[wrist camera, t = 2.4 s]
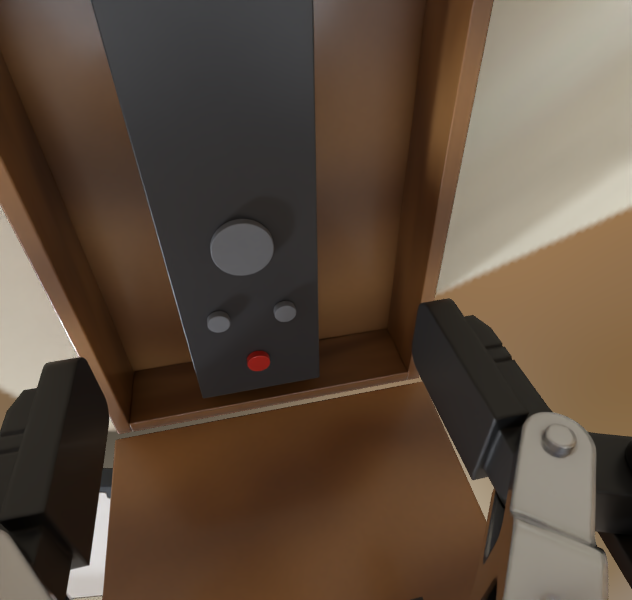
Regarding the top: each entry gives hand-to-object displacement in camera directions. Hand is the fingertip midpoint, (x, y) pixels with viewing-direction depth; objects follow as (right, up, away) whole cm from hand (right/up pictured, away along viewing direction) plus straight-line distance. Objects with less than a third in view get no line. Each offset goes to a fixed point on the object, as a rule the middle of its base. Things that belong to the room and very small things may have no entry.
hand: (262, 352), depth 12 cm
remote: (-2, +5, +6) cm, 8 cm away
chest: (-1, +6, +6) cm, 9 cm away
